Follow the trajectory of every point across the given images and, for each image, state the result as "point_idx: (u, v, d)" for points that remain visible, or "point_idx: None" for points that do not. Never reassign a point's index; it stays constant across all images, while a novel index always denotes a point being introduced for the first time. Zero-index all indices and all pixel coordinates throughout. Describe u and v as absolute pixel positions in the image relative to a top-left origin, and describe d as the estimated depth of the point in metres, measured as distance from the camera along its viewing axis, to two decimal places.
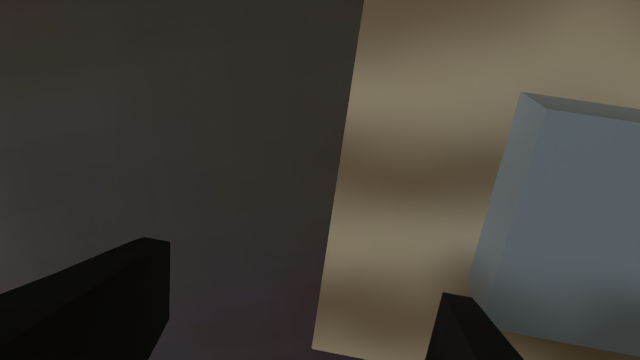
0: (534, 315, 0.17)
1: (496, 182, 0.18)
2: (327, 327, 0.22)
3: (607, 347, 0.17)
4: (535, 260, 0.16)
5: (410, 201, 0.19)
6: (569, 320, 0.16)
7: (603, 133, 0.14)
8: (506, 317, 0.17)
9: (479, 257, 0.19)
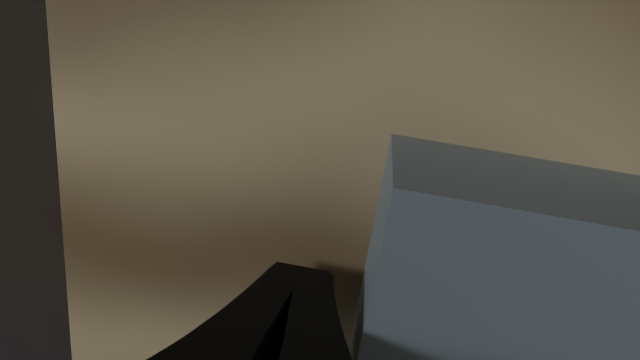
0: None
1: (362, 283, 0.11)
2: None
3: None
4: None
5: (181, 293, 0.12)
6: None
7: (512, 240, 0.07)
8: None
9: None
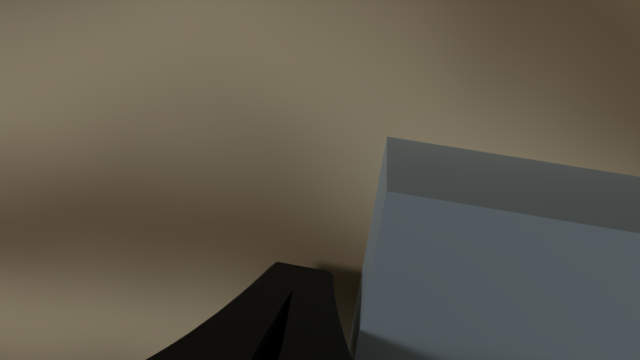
0: None
1: (359, 285, 0.11)
2: None
3: None
4: None
5: (14, 261, 0.12)
6: None
7: (505, 243, 0.07)
8: None
9: None
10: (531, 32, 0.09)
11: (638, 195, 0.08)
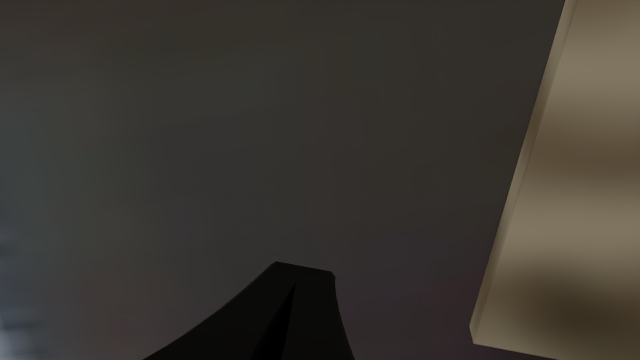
0: None
1: None
2: (494, 320, 0.20)
3: None
4: None
5: (608, 184, 0.18)
6: None
7: None
8: None
9: None
10: None
11: None
